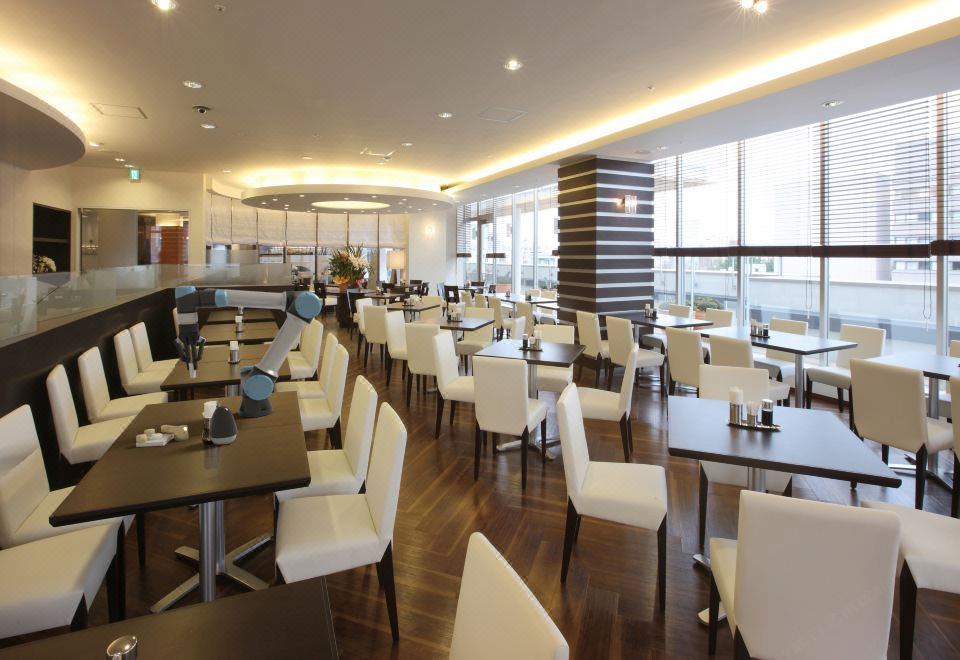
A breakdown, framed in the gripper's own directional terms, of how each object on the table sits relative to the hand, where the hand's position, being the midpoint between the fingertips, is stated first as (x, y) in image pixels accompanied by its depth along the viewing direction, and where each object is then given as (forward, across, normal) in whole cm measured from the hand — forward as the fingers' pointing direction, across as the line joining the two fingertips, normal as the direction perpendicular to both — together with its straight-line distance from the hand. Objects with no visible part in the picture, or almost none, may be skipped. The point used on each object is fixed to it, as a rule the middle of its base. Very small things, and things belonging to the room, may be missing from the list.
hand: (193, 377), depth 231 cm
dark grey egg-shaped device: (+23, -16, +21) cm, 35 cm away
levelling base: (+23, +11, +15) cm, 29 cm away
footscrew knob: (+22, +5, +13) cm, 26 cm away
